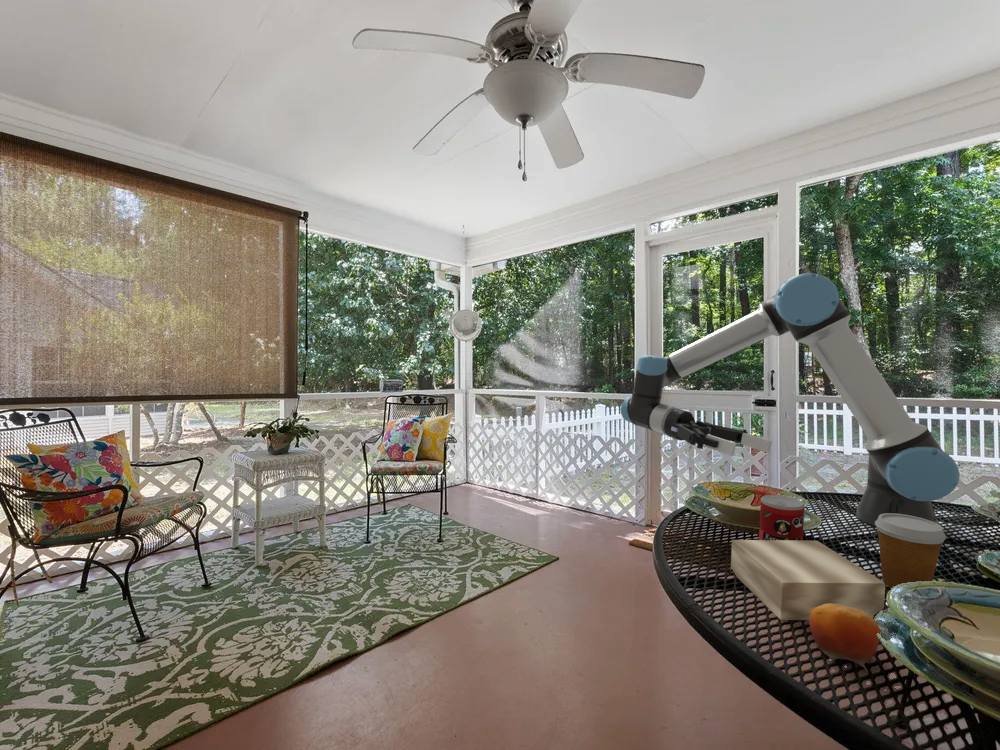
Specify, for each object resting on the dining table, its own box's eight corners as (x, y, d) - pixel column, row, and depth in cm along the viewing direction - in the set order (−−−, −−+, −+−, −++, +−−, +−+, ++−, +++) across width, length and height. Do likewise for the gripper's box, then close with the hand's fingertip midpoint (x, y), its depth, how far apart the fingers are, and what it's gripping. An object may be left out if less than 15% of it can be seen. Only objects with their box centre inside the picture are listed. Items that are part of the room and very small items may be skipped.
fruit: (820, 662, 62) (815, 596, 66) (806, 660, 69) (802, 600, 72) (896, 678, 60) (887, 608, 63) (874, 675, 66) (867, 611, 70)
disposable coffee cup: (922, 607, 78) (927, 536, 78) (859, 581, 87) (863, 516, 86) (953, 596, 82) (959, 527, 81) (890, 571, 91) (894, 509, 90)
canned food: (758, 556, 97) (761, 503, 96) (758, 542, 104) (760, 492, 103) (803, 565, 93) (806, 509, 92) (799, 549, 100) (802, 498, 100)
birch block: (815, 571, 91) (816, 540, 90) (882, 620, 75) (885, 583, 74) (730, 570, 90) (732, 539, 90) (780, 619, 75) (782, 582, 74)
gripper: (700, 435, 129) (780, 461, 111) (635, 438, 116) (713, 468, 98) (706, 408, 128) (786, 430, 110) (641, 407, 115) (720, 432, 97)
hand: (752, 448), depth 104 cm, fingers open, 13 cm apart
